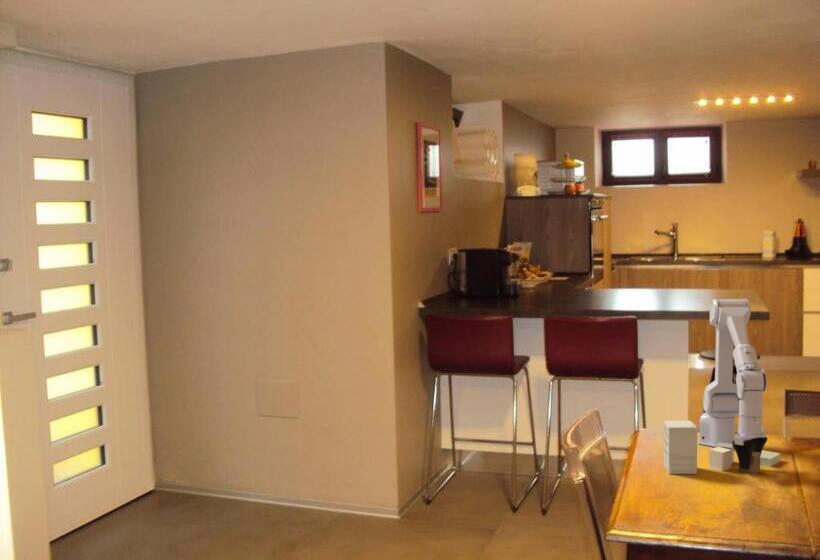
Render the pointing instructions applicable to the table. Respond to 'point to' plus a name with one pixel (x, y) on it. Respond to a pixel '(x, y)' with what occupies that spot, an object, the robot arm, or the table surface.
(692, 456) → the supplement box
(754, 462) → the walnut block
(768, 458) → the sage slab
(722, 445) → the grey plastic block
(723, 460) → the cream block
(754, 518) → the table surface
